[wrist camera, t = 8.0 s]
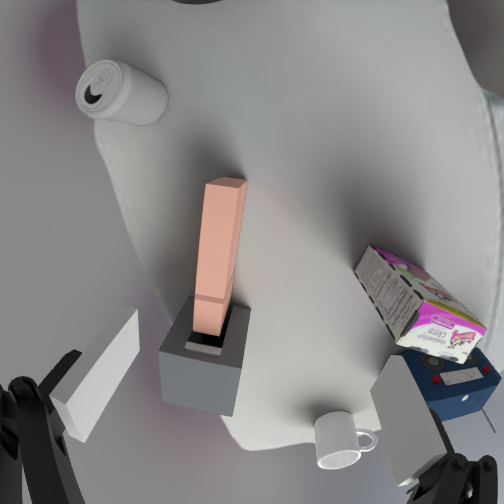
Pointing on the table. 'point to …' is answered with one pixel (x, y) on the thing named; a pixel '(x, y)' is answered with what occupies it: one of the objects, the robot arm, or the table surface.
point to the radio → (453, 382)
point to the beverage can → (120, 94)
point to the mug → (339, 440)
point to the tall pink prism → (217, 252)
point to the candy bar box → (418, 307)
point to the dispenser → (203, 363)
